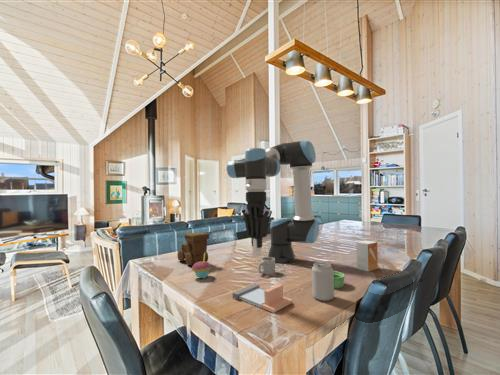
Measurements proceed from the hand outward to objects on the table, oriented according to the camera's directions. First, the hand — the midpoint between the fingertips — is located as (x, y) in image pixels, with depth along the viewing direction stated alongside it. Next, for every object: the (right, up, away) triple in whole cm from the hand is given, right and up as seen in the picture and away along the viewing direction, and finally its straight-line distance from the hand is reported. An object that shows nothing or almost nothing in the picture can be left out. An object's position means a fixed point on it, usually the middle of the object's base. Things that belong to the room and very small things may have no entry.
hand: (257, 256), depth 91 cm
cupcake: (-25, -16, +24) cm, 38 cm away
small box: (+54, -15, +31) cm, 64 cm away
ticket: (0, -15, 0) cm, 15 cm away
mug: (+5, -16, +28) cm, 32 cm away
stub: (+7, -15, -6) cm, 17 cm away
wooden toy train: (-34, -17, +49) cm, 62 cm away
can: (+24, -15, 0) cm, 28 cm away
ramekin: (+31, -15, +12) cm, 37 cm away
